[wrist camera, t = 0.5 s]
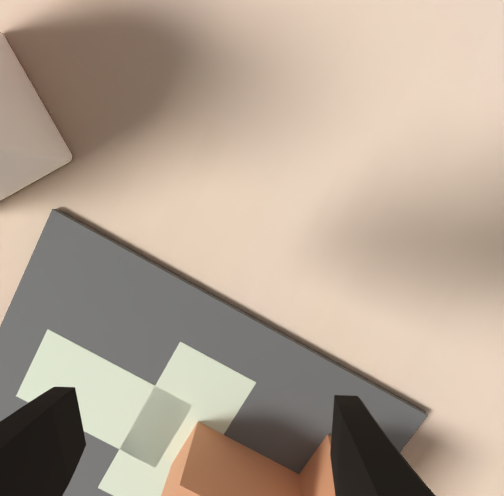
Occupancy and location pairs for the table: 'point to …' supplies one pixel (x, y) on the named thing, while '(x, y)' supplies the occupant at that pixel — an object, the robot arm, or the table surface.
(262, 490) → the t block
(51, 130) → the medicine bottle
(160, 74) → the table surface
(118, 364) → the mat
